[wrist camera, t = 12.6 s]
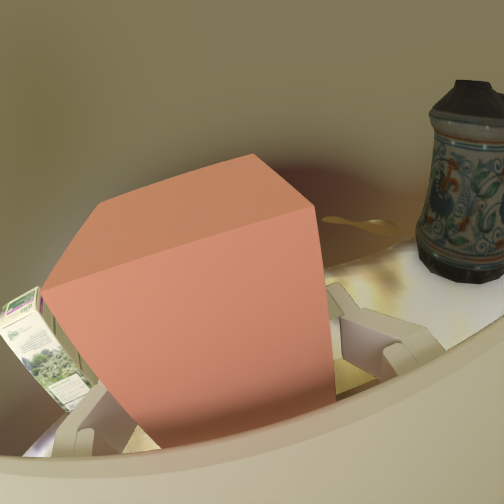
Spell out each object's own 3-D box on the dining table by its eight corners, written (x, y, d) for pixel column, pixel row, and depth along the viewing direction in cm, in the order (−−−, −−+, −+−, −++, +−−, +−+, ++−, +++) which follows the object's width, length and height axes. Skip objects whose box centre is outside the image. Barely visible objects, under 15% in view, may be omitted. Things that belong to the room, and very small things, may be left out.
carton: (305, 393, 15) (252, 153, 9) (339, 474, 11) (314, 205, 5) (212, 420, 15) (98, 203, 9) (227, 505, 11) (39, 292, 5)
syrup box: (96, 369, 37) (39, 282, 30) (104, 399, 33) (35, 306, 26) (64, 385, 35) (2, 302, 28) (68, 416, 31) (-5, 329, 23)
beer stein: (393, 250, 46) (380, 80, 34) (464, 213, 50) (460, 77, 38) (475, 303, 32) (491, 87, 20) (534, 248, 36) (546, 89, 24)
